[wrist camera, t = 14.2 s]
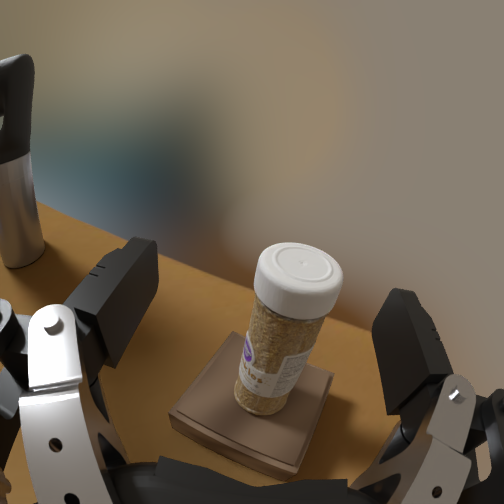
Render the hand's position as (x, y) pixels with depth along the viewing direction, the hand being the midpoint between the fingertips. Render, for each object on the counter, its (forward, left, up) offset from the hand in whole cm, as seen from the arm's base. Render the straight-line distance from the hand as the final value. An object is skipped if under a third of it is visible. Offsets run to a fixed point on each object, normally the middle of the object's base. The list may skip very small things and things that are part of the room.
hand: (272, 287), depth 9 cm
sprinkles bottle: (-3, +4, -16) cm, 16 cm away
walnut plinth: (-3, +4, -19) cm, 20 cm away
